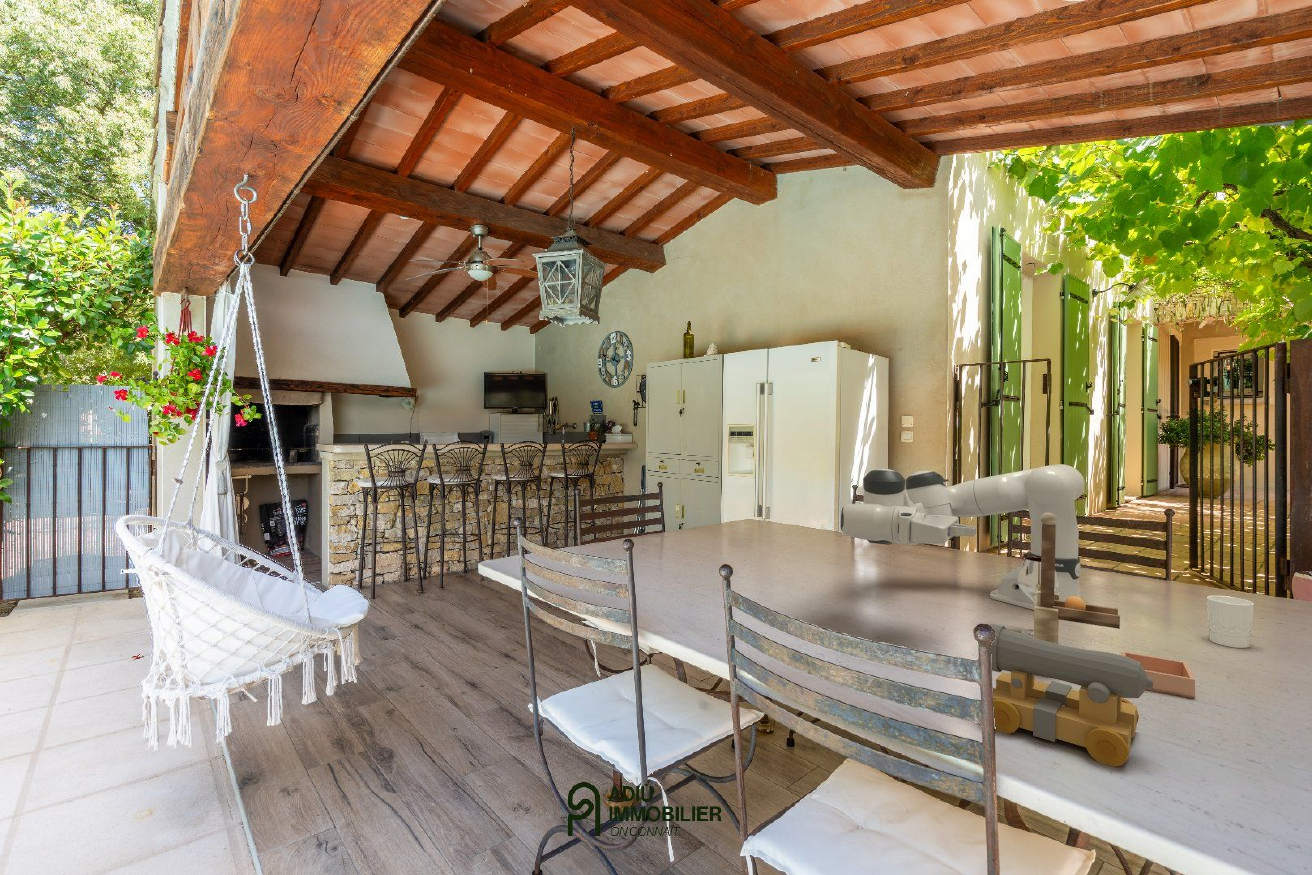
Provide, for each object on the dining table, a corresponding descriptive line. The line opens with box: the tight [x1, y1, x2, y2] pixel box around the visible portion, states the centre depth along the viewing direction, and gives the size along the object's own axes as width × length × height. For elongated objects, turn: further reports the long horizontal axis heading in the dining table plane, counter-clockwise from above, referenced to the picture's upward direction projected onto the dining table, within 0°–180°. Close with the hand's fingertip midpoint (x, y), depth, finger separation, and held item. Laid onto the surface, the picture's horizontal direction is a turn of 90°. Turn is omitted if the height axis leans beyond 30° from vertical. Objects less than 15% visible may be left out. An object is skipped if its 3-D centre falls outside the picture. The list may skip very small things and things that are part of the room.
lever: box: [1040, 512, 1121, 630], centre depth 125 cm, size 14×12×22 cm
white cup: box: [1206, 595, 1255, 649], centre depth 141 cm, size 8×8×10 cm
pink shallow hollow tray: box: [1120, 650, 1196, 700], centre depth 119 cm, size 10×10×4 cm
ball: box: [1065, 596, 1086, 611], centre depth 126 cm, size 4×4×4 cm
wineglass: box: [1018, 557, 1058, 638], centre depth 145 cm, size 8×8×18 cm
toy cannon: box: [988, 623, 1153, 768], centre depth 100 cm, size 16×22×15 cm
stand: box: [1033, 591, 1060, 644], centre depth 129 cm, size 9×17×13 cm, turn 146°
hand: (975, 531), depth 136 cm, fingers closed
